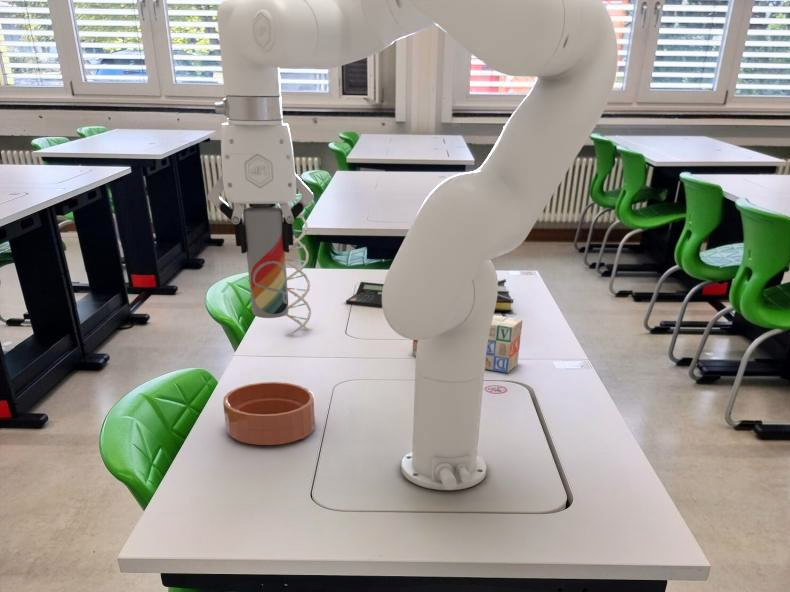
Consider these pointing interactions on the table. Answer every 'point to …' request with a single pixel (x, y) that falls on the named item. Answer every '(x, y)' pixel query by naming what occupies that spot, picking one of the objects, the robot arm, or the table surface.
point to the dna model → (299, 276)
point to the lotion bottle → (266, 260)
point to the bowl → (269, 413)
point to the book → (503, 298)
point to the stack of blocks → (500, 344)
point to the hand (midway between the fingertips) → (265, 249)
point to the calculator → (367, 295)
